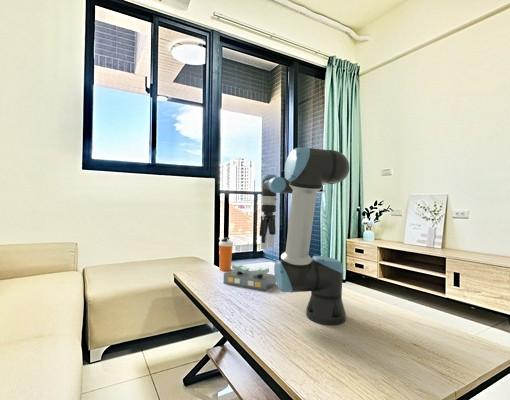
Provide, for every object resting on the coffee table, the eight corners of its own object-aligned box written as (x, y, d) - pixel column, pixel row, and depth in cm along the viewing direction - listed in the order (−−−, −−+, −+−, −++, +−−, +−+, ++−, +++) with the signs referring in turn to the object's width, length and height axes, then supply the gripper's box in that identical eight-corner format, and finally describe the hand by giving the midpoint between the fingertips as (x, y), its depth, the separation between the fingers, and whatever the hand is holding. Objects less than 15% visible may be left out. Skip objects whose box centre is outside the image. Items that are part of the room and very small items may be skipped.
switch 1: (244, 273, 148) (245, 269, 147) (231, 268, 151) (232, 264, 151) (248, 271, 152) (249, 267, 152) (236, 266, 155) (236, 262, 155)
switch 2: (265, 273, 142) (265, 269, 142) (251, 274, 146) (251, 270, 146) (269, 271, 146) (268, 267, 147) (255, 272, 150) (255, 268, 150)
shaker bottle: (233, 268, 181) (234, 237, 181) (230, 271, 172) (231, 239, 172) (219, 267, 182) (220, 237, 182) (216, 270, 173) (217, 238, 173)
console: (265, 291, 137) (266, 278, 137) (223, 283, 148) (223, 271, 148) (275, 284, 149) (276, 272, 149) (235, 277, 160) (236, 266, 160)
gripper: (267, 204, 133) (265, 251, 133) (282, 204, 152) (281, 245, 152) (253, 204, 137) (251, 250, 137) (270, 204, 156) (268, 244, 156)
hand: (267, 247), depth 145 cm, fingers open, 8 cm apart
